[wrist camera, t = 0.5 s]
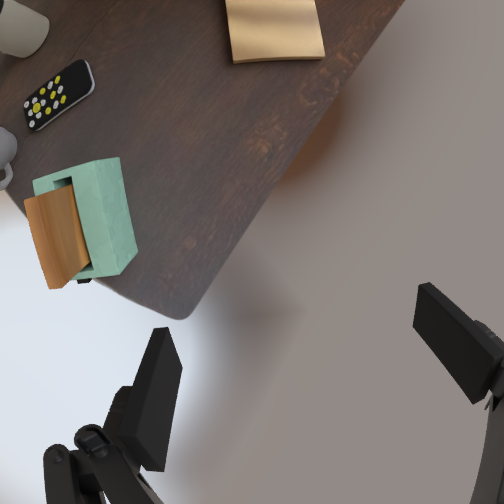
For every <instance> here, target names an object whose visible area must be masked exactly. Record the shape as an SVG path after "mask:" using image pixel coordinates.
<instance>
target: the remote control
mask: <svg viewBox="0 0 504 504" xmlns="http://www.w3.org/2000/svg"><path fill="white" fill-rule="evenodd" d="M94 86H95V83H94V79H93V76H92V73H91V70H90V67H89V64H88V63H87V62H86V61H84V60H77V61H75V62H73V63H72V64H71V65H69V66H68V67H66V68H65V69H64V70H62V71H61V72H59V73H58V74H57V75H55V76H54V77H53V78H51V79H50V80H49V81H48V82H46V83H45V84H44V85H42V86H41V87H40V88H39V89H38V90H36V91H35V92H34V93H33V94H32V95H30V96H29V97H28V98H27V99H26V101H25V103H24V112H25V116H26V120H27V123H28V127H29V128H30V130H32V131H38V130H40V129H42V128H43V127H44V126H46V125H47V124H48V123H49V122H51V121H52V120H53V119H55V118H56V117H57V116H59V115H60V114H62V113H63V112H64V111H66V110H67V109H69V108H70V107H71V106H73V105H74V104H76V103H77V102H79V101H80V100H82V99H83V98H85V97H86V96H88V95H89V94H91V92H92V91H93V89H94Z"/></svg>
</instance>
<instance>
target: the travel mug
mask: <svg viewBox="0 0 504 504" xmlns="http://www.w3.org/2000/svg"><path fill="white" fill-rule="evenodd" d="M48 31H49V20H48V19H47V18H46V17H45V16H43V15H41V14H39V13H37V12H35V11H33V10H31V9H29V8H28V7H26V6H24V5H22V4H19V3H17V2H15V1H13V0H0V52H2V53H6V54H10V55H13V56H17V57H21V58H25V57H28V56H30V55H31V54H33V53H34V52H35V51H36V50H37V49H38V48H39V47H40V46H41V45H42V43H43V42H44V40H45V38H46V36H47V34H48Z"/></svg>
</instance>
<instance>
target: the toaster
mask: <svg viewBox="0 0 504 504" xmlns="http://www.w3.org/2000/svg"><path fill="white" fill-rule="evenodd" d="M70 184H73V187H74V192H75V197H76V202H77V207H78V211H79V216H80V220H81V224H82V229H83V233H84V236H85V240H86V244H87V248H88V251H89V255H90V258H91V261H90V262H89V263H88V264H87V265H86V266H85V267H84V268H83V269H81V270H80V271H79V272H78V273H77V274H76V275H75V276H74V277H73V278H72V279H71V280H77V282H78V284H81V283H89V282H90V281H91V280H92V278H95V277H104V276H112V275H119V274H120V273H121V272H122V271H123V270H124V268H125V267H126V266H127V265H128V264H129V262H130V261H131V260H132V259H133V258H134V256H135V255H136V254H137V253H138V249H137V245H136V241H135V237H134V232H133V228H132V223H131V219H130V214H129V209H128V204H127V199H126V194H125V189H124V183H123V177H122V171H121V165H120V159H119V157H116V158H109V159H102V160H96V161H91V162H88V163H84V164H81V165H78V166H74V167H71V168H68V169H65V170H62V171H59V172H56V173H53V174H50V175H47V176H44V177H41V178H38V179H35V180H33V187H34V192H35V196H37V195H40V194H43V193H46V192H49V191H52V190H55V189H58V188H61V187H64V186H67V185H70Z"/></svg>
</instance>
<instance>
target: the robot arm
mask: <svg viewBox="0 0 504 504" xmlns="http://www.w3.org/2000/svg"><path fill="white" fill-rule="evenodd" d="M413 328H414V329H415V330H416V331H417V333H418V334H419V335H420V336H421V337H422V339H423V340H424V341H425V342H426V344H427V345H428V346H429V347H430V349H431V350H432V351H433V352H434V354H435V355H436V356H437V357H438V359H439V360H440V361H441V363H442V364H443V365H444V366H445V368H446V369H447V370H448V372H449V373H450V374H451V376H452V377H453V378H454V379H455V381H456V382H457V384H458V385H459V386H460V388H461V389H462V390H463V392H464V393H465V395H466V396H467V397H468V398H469V400H470V401H471V403H472V404H475V403H477V402H479V401H481V400H482V399H484V398H485V396H486V394H487V392H488V390H489V389H490V391H491V392H492V395H491V397H490V399H489V401H488V403H487V404H486V406H485V410H486V409H487V408H488V406H489V405H490V406H489V416H488V423H487V431H486V437H485V443H484V449H483V454H482V459H481V463H480V468H479V472H478V476H477V480H476V484H475V487H474V491H473V494H472V498H471V501H470V504H504V342H503V341H502V340H501V339H500V338H499V337H498V336H496V334H495V333H494V332H492V331H491V330H490V329H489V328H488V327H487V326H486V325H485V324H483V323H481V322H479V321H477V320H475V321H473V320H472V319H471V318H469V317H468V316H467V315H466V314H465V313H464V312H463V311H462V310H461V309H460V308H459V307H457V306H456V305H455V304H454V303H453V302H452V301H451V300H450V299H449V298H447V297H446V296H445V295H444V294H443V293H441V291H439V290H438V289H437V288H436V287H435V286H434V285H432V284H431V283H430V282H428V283H424V284H420V285H419V286H418V294H417V301H416V308H415V315H414V321H413ZM181 373H182V364H181V362H180V359H179V356H178V354H177V351H176V348H175V346H174V343H173V340H172V337H171V334H170V331H169V328H168V327H164V328H154V329H153V332H152V335H151V337H150V340H149V342H148V345H147V348H146V350H145V353H144V355H143V358H142V361H141V364H140V366H139V369H138V372H137V375H136V377H135V380H134V383H133V386H122V387H121V388H120V389H119V391H118V392H117V393H116V394H115V397H114V399H113V402H112V405H111V407H110V409H109V410H110V412H108V415H107V417H106V420H105V423H104V426H103V428H101V427H100V426H98V425H95V424H89V425H86V426H83V427H82V428H80V429H79V430H78V431H77V433H76V434H75V437H74V444H75V445H76V446H77V448H78V449H79V450H72V451H69V450H68V449H67V448H66V447H65V446H64V445H61V444H54V445H52V446H50V447H49V448H48V449H46V451H45V453H44V457H43V464H44V465H43V466H44V480H45V492H46V501H47V504H106V500H105V497H104V493H105V495H106V496H107V498H108V500H109V502H110V503H111V504H164V503H163V502H162V501H161V500H160V498H159V497H158V496H157V494H156V493H155V492H154V491H153V489H152V488H151V487H150V485H149V484H148V483H147V481H146V480H145V479H144V477H143V476H142V475H141V473H140V467H141V465H142V466H143V467H144V468H145V470H146V471H156V472H164V469H165V463H166V456H167V450H168V444H169V438H170V433H171V427H172V421H173V415H174V410H175V404H176V399H177V394H178V389H179V384H180V378H181ZM103 491H104V493H103Z"/></svg>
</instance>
